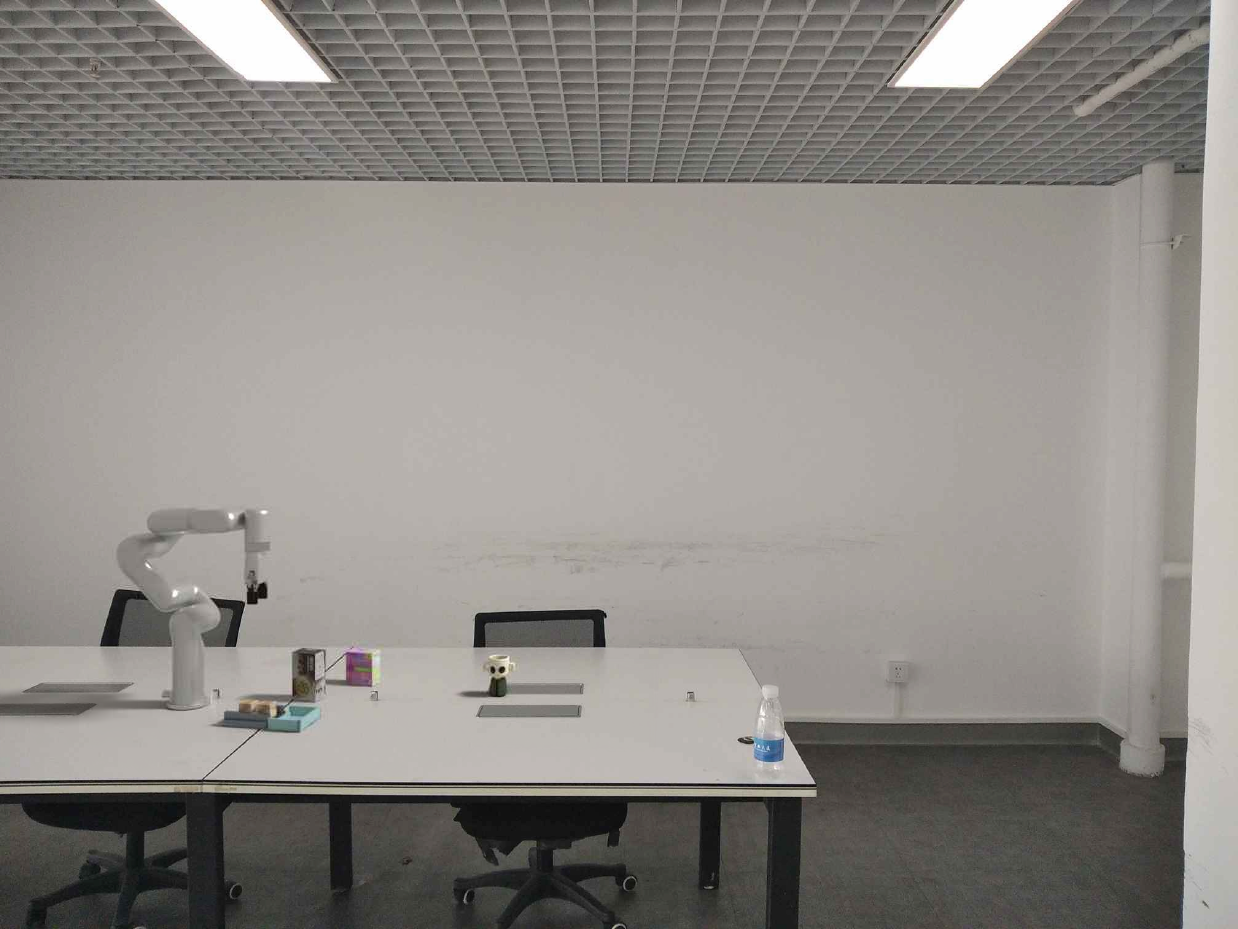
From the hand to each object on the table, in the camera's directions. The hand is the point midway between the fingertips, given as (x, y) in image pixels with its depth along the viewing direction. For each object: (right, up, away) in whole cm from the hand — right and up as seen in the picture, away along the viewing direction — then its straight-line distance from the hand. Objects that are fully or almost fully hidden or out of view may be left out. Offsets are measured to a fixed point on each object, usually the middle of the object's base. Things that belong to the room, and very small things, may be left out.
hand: (257, 601), depth 297 cm
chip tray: (+16, -36, -12) cm, 41 cm away
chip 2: (+7, -33, -11) cm, 36 cm away
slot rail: (+3, -35, -10) cm, 37 cm away
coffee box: (+11, -35, +15) cm, 39 cm away
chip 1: (+1, -33, -10) cm, 35 cm away
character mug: (+73, -36, +24) cm, 85 cm away
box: (+24, -34, +35) cm, 54 cm away
